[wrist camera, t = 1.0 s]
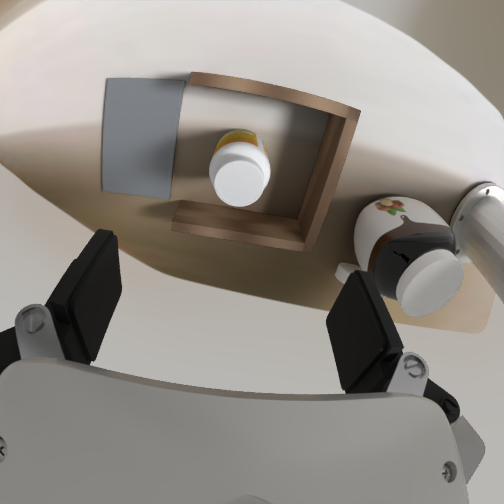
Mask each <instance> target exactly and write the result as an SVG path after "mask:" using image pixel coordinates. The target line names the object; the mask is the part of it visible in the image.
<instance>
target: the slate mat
mask: <svg viewBox="0 0 504 504" xmlns="http://www.w3.org/2000/svg"><path fill="white" fill-rule="evenodd" d="M184 86H185V81H178V80H165V79H148V78H108V81H107V90H106V100H105V112H104V127H103V156H102V179H103V191H106V192H114V193H122V194H130V195H138V196H145V197H152V198H159V199H166V200H170V195H171V183H172V173H173V164H174V155H175V146H176V138H177V131H178V124H179V117H180V110H181V104H182V98H183V92H184Z"/></svg>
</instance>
